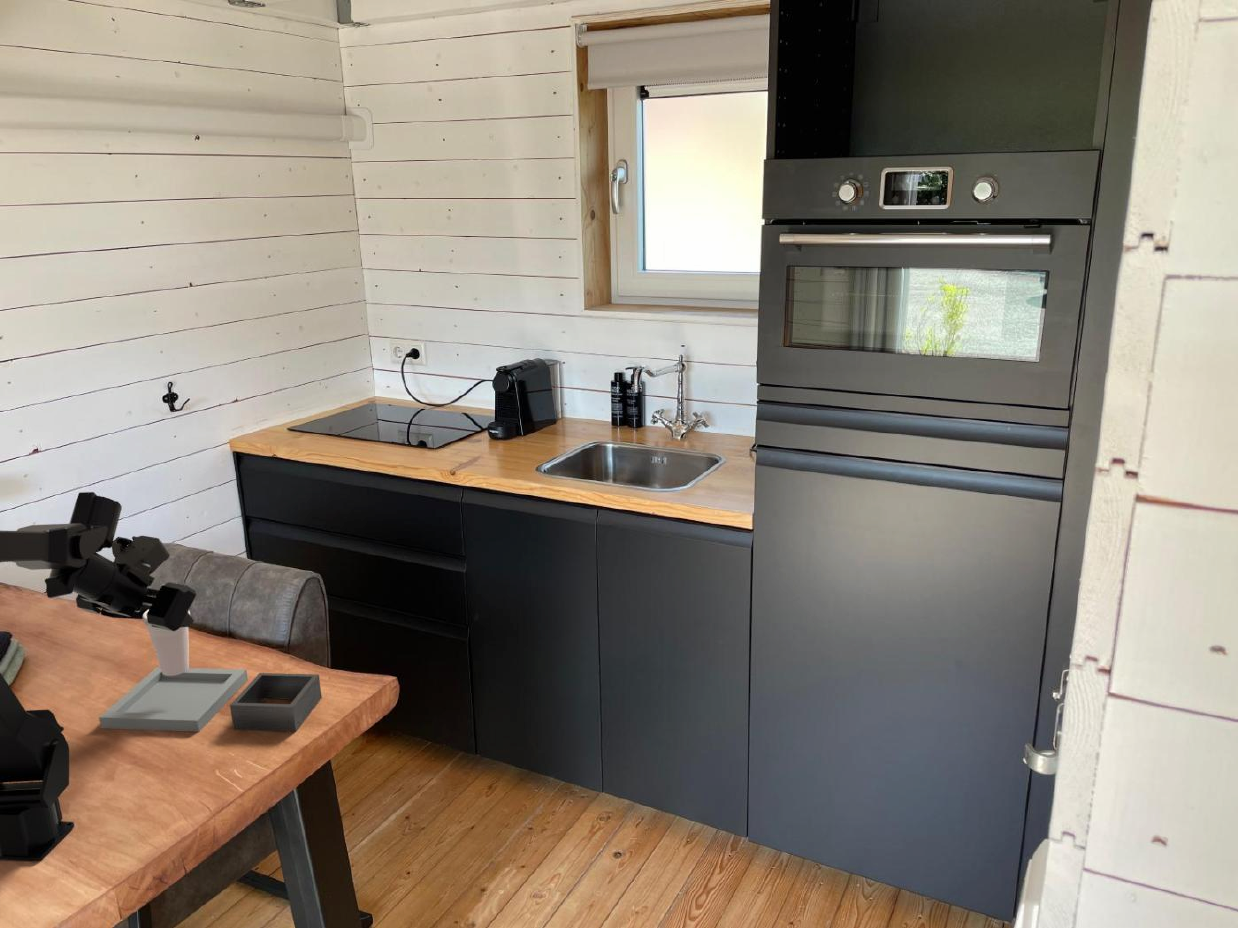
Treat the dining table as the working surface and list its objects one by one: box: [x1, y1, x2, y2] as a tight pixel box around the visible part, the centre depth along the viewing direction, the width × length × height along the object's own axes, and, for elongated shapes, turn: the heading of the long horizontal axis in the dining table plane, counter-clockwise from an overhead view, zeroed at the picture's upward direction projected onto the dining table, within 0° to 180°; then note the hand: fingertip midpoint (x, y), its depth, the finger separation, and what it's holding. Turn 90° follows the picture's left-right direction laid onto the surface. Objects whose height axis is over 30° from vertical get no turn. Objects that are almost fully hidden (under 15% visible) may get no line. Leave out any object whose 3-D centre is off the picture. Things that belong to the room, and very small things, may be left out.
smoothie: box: [142, 583, 191, 676], centre depth 138 cm, size 6×6×14 cm
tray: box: [98, 666, 248, 732], centre depth 142 cm, size 15×15×2 cm
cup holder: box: [229, 672, 322, 733], centre depth 138 cm, size 9×9×4 cm
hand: (175, 619), depth 139 cm, fingers closed on smoothie, 6 cm apart
